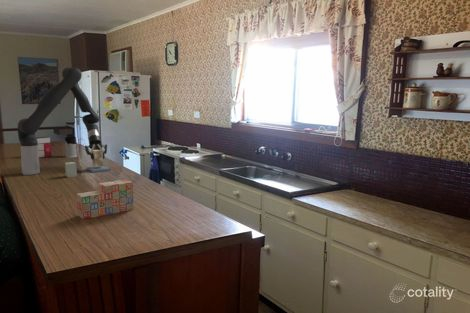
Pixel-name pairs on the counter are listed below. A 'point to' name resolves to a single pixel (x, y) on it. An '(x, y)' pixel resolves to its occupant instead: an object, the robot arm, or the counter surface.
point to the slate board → (98, 169)
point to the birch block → (98, 158)
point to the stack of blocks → (106, 199)
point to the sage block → (70, 169)
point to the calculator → (44, 146)
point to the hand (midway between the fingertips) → (98, 158)
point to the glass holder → (71, 147)
